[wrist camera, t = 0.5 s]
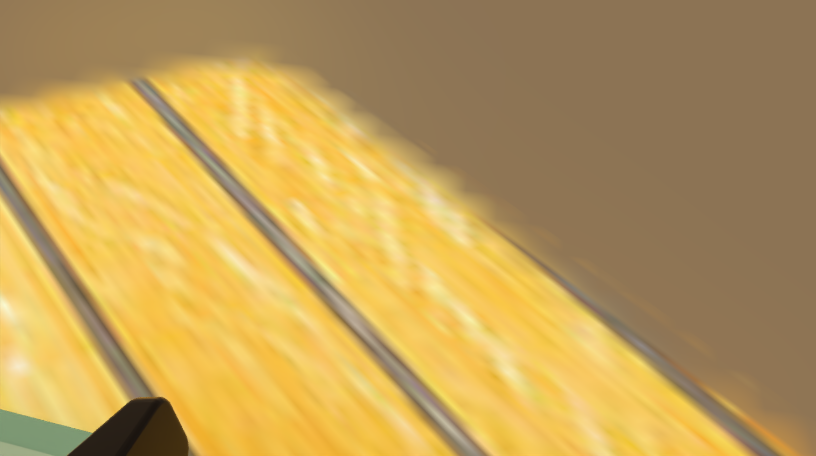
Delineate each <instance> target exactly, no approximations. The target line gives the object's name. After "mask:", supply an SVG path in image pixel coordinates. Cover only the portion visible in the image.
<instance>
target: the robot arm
mask: <svg viewBox="0 0 816 456" xmlns="http://www.w3.org/2000/svg"><path fill="white" fill-rule="evenodd" d="M188 450H189V447H188V440H187V436H186V434H185V432H184V430H183V428H182V426H181V424H180V422H179V420H178V418H177V416H176V414H175V412H174V410H173V408H172V406H171V404H170V402H169V401H168V400H167V399H165V398H163V397H140V398H135V399H133V400H131V401H130V402H128V403H127V404H126V405H125V406H124V407H122V408H121V409H120V410H119V411H118V412H117V413H115V414H114V415H113V416H112V417H111V418H110V419H109V420H107V421H106V422H105V423H104V424H103V425H102V426H100V427H99V428H98V429H97V430H96V431H95V432H93V433H92V434H91V435H90V436H89V437H88V438H86V439H85V440H84V441H83V442H82V443H81V444H80V445H78V446H77V447H76V448H75V449H74V450H73V451H71V452H70V453H69V454H68V455H67V456H188Z"/></svg>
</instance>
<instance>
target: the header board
mask: <svg viewBox="0 0 816 456" xmlns="http://www.w3.org/2000/svg"><path fill="white" fill-rule="evenodd" d="M91 434H92V433H90V432H86V431H82V430H78V429H75V428H71V427H67V426H63V425H59V424H55V423H51V422H47V421H44V420H40V419H36V418H32V417H28V416H24V415H20V414H16V413H13V412H9V411H5V410H1V409H0V456H67V455H68V454H69V453H70V452H71V451H73V450H74V449H75V448H76V447H77V446H78V445H80V444H81V443H82V442H83V441H84V440H85V439H86V438H88V437H89V436H90V435H91Z"/></svg>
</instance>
